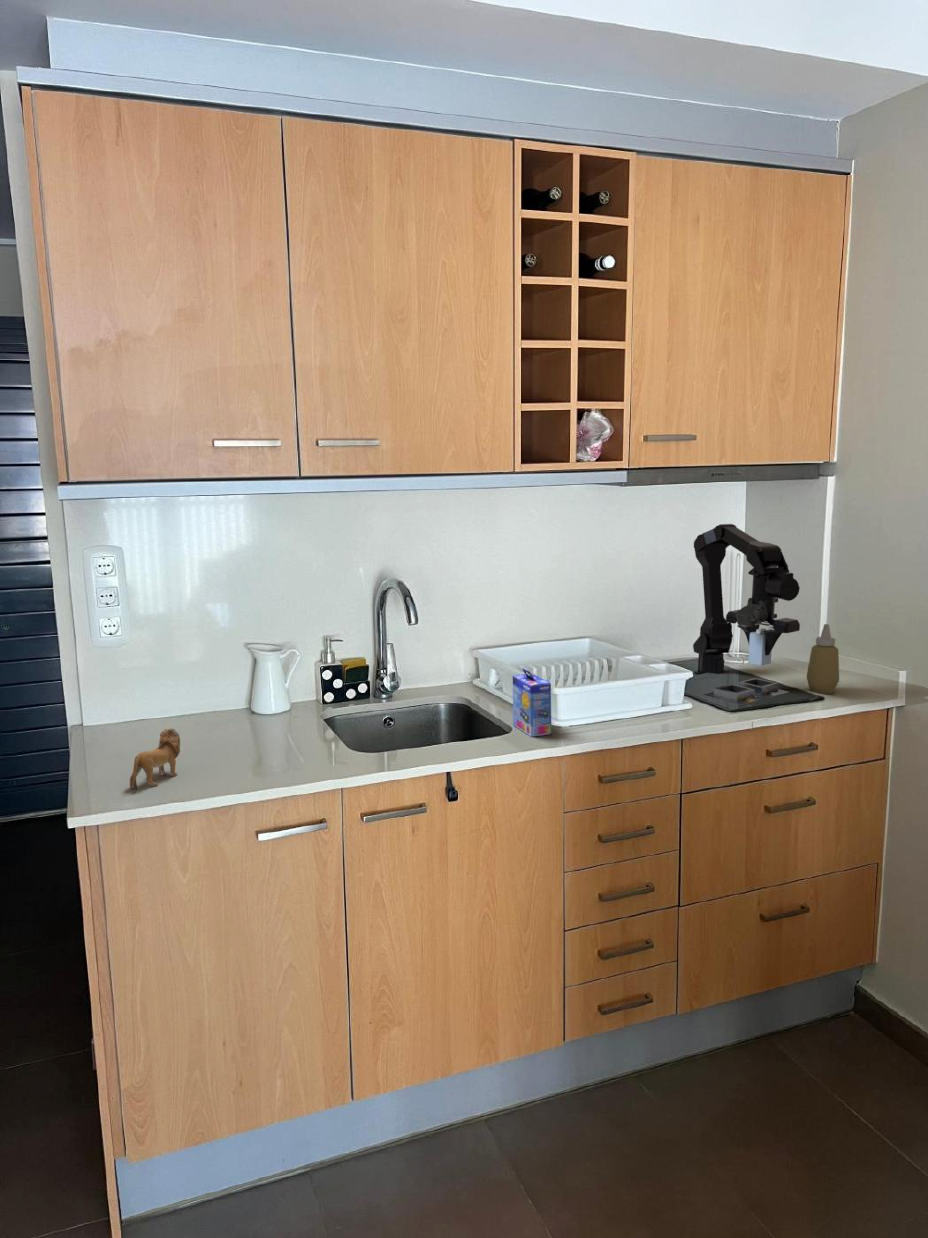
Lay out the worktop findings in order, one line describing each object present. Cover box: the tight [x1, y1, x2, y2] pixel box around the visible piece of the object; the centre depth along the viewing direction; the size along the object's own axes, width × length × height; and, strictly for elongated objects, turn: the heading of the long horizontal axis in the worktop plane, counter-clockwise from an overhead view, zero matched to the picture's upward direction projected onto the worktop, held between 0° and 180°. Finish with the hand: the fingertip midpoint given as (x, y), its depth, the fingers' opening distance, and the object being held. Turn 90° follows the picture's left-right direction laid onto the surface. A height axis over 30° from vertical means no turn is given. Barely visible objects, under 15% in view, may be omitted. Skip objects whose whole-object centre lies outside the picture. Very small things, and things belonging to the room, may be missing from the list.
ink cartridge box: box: [512, 667, 552, 738], centre depth 215 cm, size 10×6×14 cm, turn 23°
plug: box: [747, 628, 773, 667], centre depth 243 cm, size 4×4×9 cm
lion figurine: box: [129, 727, 181, 792], centre depth 184 cm, size 15×5×9 cm, turn 165°
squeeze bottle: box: [806, 623, 840, 695], centre depth 246 cm, size 8×8×18 cm
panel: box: [702, 677, 789, 706], centre depth 242 cm, size 12×20×3 cm, turn 127°
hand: (760, 653), depth 244 cm, fingers closed on plug, 4 cm apart
